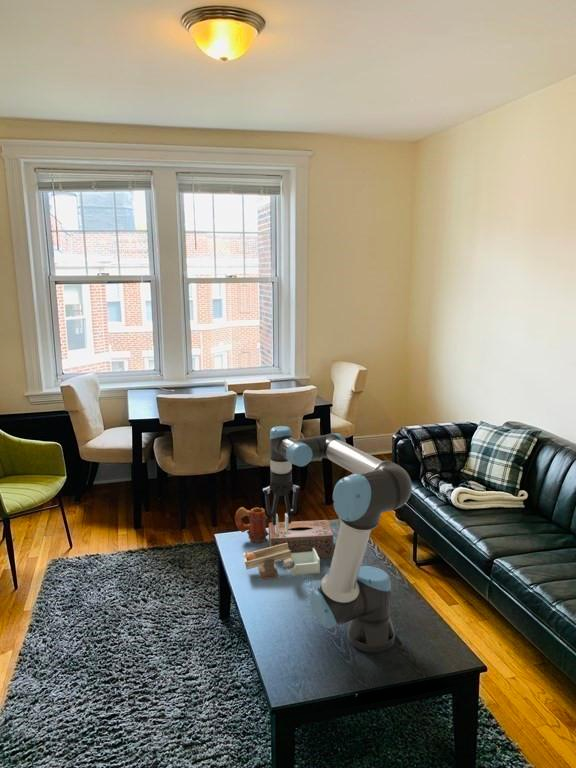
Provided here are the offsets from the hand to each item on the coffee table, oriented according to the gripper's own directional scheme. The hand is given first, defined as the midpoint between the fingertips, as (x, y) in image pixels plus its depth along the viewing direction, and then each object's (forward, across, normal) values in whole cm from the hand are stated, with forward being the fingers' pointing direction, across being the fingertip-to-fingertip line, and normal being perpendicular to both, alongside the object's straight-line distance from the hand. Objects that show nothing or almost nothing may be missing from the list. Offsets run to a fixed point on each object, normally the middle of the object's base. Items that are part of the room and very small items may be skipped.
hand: (281, 532), depth 201 cm
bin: (+25, -12, -16) cm, 31 cm away
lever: (+19, +3, -12) cm, 23 cm away
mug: (+25, +6, -44) cm, 51 cm away
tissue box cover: (+25, -13, -31) cm, 42 cm away
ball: (+17, +10, -16) cm, 26 cm away
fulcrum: (+25, +3, -16) cm, 29 cm away
